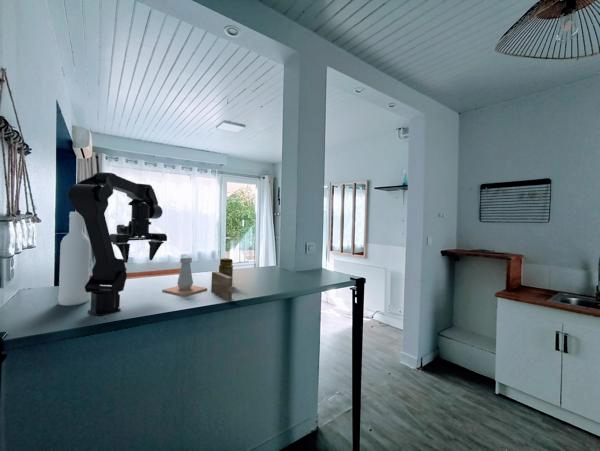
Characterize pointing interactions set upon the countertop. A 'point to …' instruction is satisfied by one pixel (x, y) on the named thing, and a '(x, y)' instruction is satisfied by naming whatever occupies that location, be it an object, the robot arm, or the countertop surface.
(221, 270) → the condiment
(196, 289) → the terracotta mat
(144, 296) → the countertop surface
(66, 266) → the bottle
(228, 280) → the walnut backboard
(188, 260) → the salt shaker
